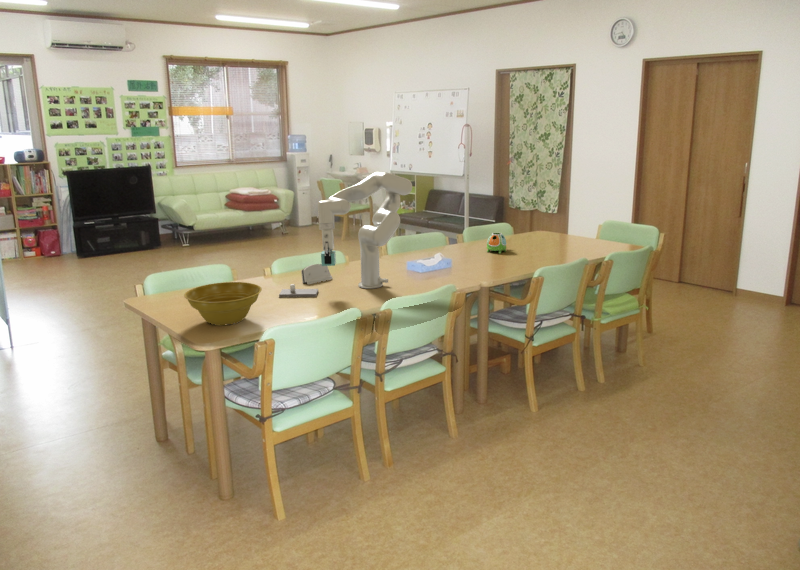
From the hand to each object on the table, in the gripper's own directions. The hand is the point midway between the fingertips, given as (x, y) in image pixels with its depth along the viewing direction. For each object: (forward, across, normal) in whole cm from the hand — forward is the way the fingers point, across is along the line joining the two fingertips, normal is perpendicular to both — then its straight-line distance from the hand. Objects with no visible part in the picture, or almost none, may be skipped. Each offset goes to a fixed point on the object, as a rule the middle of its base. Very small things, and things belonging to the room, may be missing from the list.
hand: (328, 261), depth 321 cm
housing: (+1, 0, 0) cm, 1 cm away
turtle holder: (+19, +100, -98) cm, 141 cm away
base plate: (+16, 0, +16) cm, 22 cm away
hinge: (+17, +28, +10) cm, 34 cm away
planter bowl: (+16, -42, +42) cm, 61 cm away
